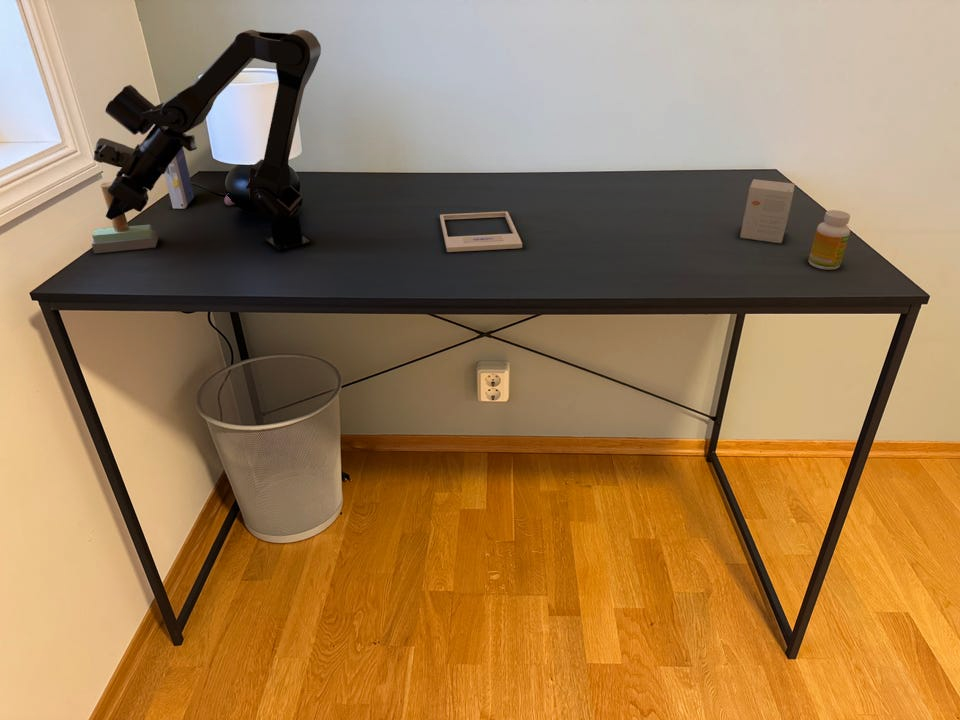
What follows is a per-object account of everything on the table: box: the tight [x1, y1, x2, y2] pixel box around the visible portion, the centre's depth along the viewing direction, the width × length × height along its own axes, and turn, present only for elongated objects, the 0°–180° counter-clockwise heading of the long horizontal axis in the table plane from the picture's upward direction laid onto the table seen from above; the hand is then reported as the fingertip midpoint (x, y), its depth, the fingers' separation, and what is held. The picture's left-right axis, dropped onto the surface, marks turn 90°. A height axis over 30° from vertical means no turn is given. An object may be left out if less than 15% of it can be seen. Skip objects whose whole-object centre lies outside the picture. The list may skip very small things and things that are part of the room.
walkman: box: [163, 147, 195, 210], centre depth 153 cm, size 8×3×12 cm, turn 4°
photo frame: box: [439, 210, 523, 253], centre depth 139 cm, size 15×1×18 cm
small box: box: [739, 178, 796, 244], centre depth 135 cm, size 8×6×10 cm
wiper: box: [91, 181, 159, 255], centre depth 131 cm, size 11×4×12 cm, turn 106°
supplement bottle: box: [808, 209, 851, 271], centre depth 124 cm, size 5×5×10 cm
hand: (109, 215), depth 131 cm, fingers closed on wiper, 2 cm apart
